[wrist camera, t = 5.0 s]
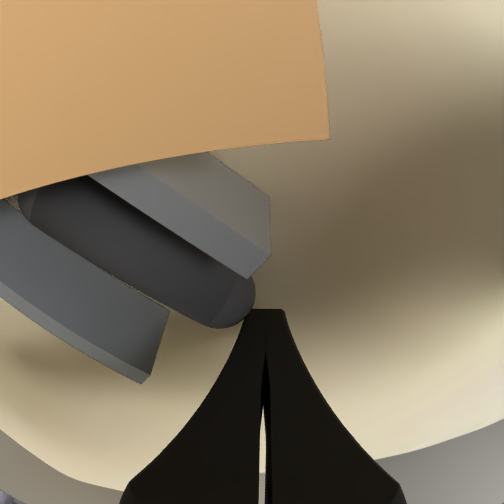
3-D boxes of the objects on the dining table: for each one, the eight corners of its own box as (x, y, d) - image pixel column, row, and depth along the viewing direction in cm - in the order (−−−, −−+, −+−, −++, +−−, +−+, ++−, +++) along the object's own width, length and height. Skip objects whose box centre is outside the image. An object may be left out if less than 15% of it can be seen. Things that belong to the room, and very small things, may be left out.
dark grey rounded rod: (266, 266, 11) (273, 305, 9) (229, 310, 12) (229, 353, 10) (55, 138, 8) (16, 151, 6) (33, 194, 9) (-2, 218, 7)
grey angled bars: (268, 196, 9) (270, 254, 7) (160, 322, 12) (141, 384, 10) (-15, 18, 5) (-77, 25, 3) (-55, 167, 8) (-101, 199, 6)
